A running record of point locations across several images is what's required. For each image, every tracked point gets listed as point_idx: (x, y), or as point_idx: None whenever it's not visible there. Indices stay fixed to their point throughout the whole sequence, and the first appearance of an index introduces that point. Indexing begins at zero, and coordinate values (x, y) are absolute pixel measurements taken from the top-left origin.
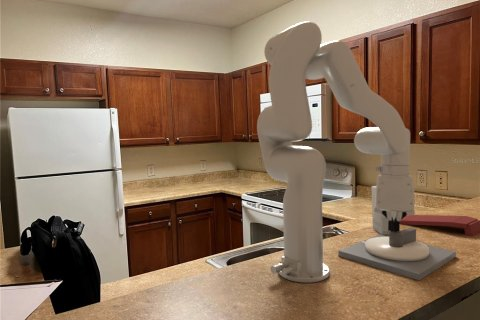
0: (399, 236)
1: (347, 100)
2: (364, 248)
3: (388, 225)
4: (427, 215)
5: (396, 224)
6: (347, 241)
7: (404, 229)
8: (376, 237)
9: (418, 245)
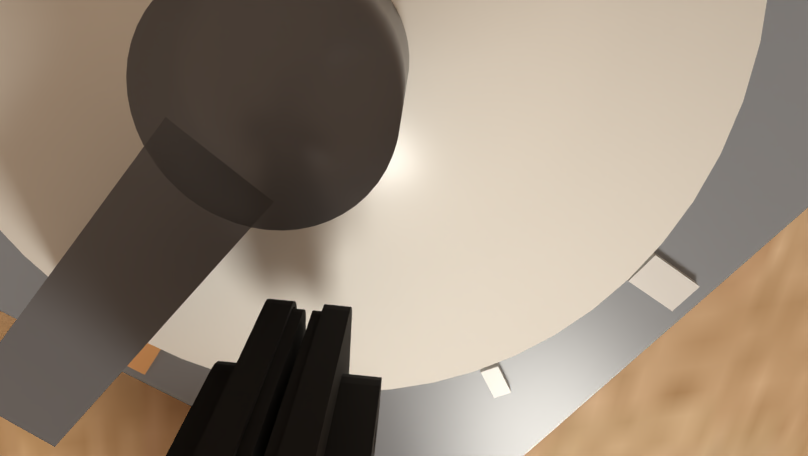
0: None
1: None
2: None
3: (372, 432)
4: None
5: (225, 415)
6: (761, 401)
7: (128, 362)
8: (524, 343)
9: (23, 114)
